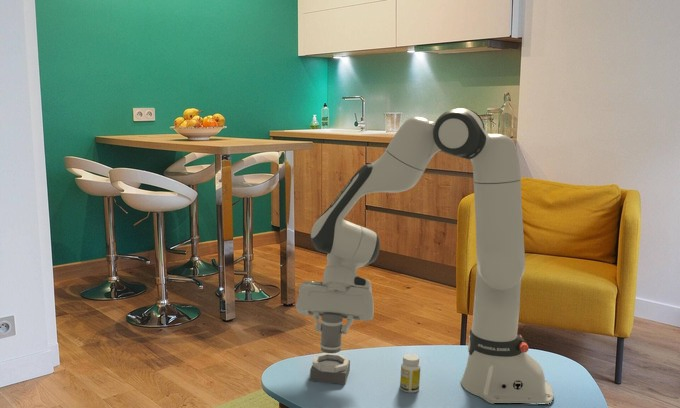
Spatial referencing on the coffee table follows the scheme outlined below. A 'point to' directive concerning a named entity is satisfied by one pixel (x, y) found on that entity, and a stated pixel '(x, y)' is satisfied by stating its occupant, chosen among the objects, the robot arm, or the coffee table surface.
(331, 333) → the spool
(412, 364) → the supplement bottle
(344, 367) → the octagonal ring tray
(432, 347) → the coffee table surface
